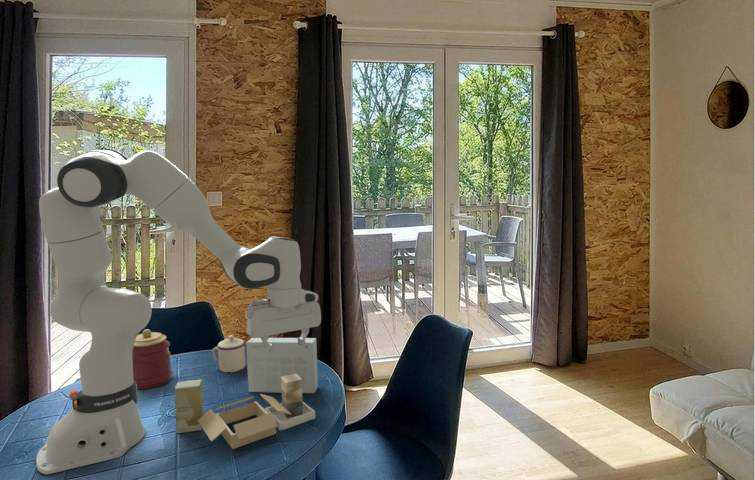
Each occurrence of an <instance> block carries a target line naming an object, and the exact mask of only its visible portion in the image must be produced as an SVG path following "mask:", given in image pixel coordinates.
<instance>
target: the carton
mask: <svg viewBox="0 0 755 480" xmlns="http://www.w3.org/2000/svg"><path fill="white" fill-rule="evenodd" d="M260 396H261V397H262V398H263V399H264V401H266V403H268V404H269V405H270V406H273V407H274V408H275V409H276V410H277V411H278V412H281V413H285V414H289V415H291V413H290V412H289V411H288V410H287V409H285V408H284V407H283V406H282V405H281V404H280V403H281V402H279V401H278V400H277V399H276V398H275V397H274V396H270V395H266V394H263V393H260ZM254 398H255V396H254V395H253V396H250V397H246V398H243V399H239V400H236V401H232V402H229V403H226V404H223V405H220V406H218V407H216V408H215V409H214V410H219V409H223V408H226V407H230V406H233V405H236V404H239V403H243V402H246V401H250V400H251V399H254ZM252 416H256V417H255V418H250V419H248V420H245V421H242V422H239V423H236V424H233V429H234V431H235V433H234V432H233V431H232V430H231V429H230V428H229V426H228V424H232V423H235V422H237V421H241V420H243V419H246V418H249V417H252ZM197 421H198V422H199V424H200V425H201V427H202V431H204V433H205V434H206V436H207V437H208V439H209V440H210V441H211V442H213V441H215V440H216V439H217V438H218V437H219V436H220V435H222V437H223V438H224V440H225V441H226V442H227V444H228V446H229V447H230V448H231V449H232V450H235V449H237V448H241V447H243V446H246V445H248V444H252V443H254V442H257V441H259V440H262V439H265V438H268V437H271V436H273V435H276V434H277V424H276V420H275V419H274V418H273V416H272V413H268V412H267V411H266V410H265V409H264V407H263V406H262V405H261V404H260V403H259V402H258V401H252V402H248V403H246V404H243V405H239V406H237V407H233V408H229V409H226V410H223V411H220V412H217V413H214V411H213V410H212V409H211V408H210V409H209V410H208V411H206V412H205V413H203V416H202V417H201V418H200V419H198V420H197Z"/></svg>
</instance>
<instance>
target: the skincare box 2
mask: <svg viewBox="0 0 755 480" xmlns="http://www.w3.org/2000/svg"><path fill="white" fill-rule="evenodd" d="M298 338H299V337H269V340H267V341H268V343H269V344H272V345H273V348H272V349H273V351H271V352H266V351H265V344H264V343H263V341H262V340H261V337H259V338H252V337H250V339H248V340H247V341H246V343H245V345H246V361H247V362H246V365H247V366H246V368H247V381H248V383H247V384H248V392H249V393H280V394H282V391H281V377H283V376H287V375H292V374H298V376H299V377H300V378H301V379H302V394H315V393H316V392H317V390H318V388H319V377H318V354H317V353H318V351H317V350H318V349H317V337H306V338H305V344H304V345H298Z"/></svg>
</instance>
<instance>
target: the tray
mask: <svg viewBox="0 0 755 480" xmlns="http://www.w3.org/2000/svg"><path fill="white" fill-rule="evenodd" d="M279 403H280V404H281V405H282V402H279ZM263 408H264V407H263ZM264 409H265V410H266V411H267V412H268V413H272V416H273V418H274V419H275V420H276V424H277V427H276V429H278V431H280V432H282V431H285V430H287V429H290V428H292V427H295V426H299V425H301V424H303V423H306V422H309V421H311V420H315V419H316V411H315V410H314V409H313V408H312V407H310V405H308V404H307V403H306V402H304V401H303V414H302V415H299V416H295V417H291V418H286V416H285V415H284V413H281V412H278V411H277V410H276V409H275V408H274V407H273V406H271V405H270V406H267V407H265V408H264Z"/></svg>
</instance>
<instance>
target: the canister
mask: <svg viewBox="0 0 755 480" xmlns="http://www.w3.org/2000/svg"><path fill="white" fill-rule="evenodd" d="M170 345H171V343H170V341H169V340H167V335H165V334H163V333H161V332H159V331H158V332H156V331H151V329H148V328H147V329H146V328H144V329H143V330H142V332H141V333H139V334H138V335H137V337H136V339H135V342H134V346H133V352H132V360H133V377H134V379H135V382H136V384H137V390H147V389H148V390H149V389H153V388H157V387H160V386H162V385H165V384H167V383H168V382H170V380H171V379H172V375H173V369H172V362H171V361H172V360H171V351H169V347H170Z"/></svg>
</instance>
